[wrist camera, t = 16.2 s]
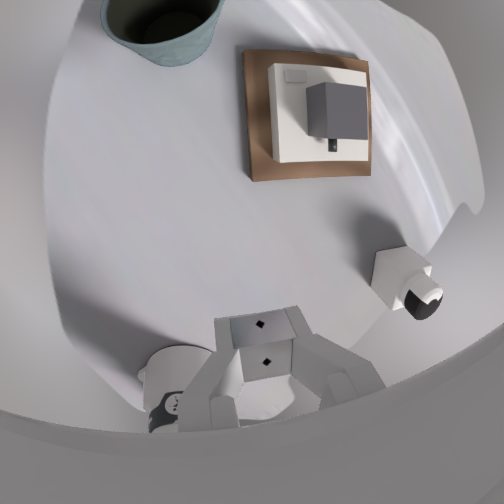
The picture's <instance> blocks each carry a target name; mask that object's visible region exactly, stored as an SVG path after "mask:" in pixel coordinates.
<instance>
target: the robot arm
mask: <svg viewBox="0 0 504 504" xmlns="http://www.w3.org/2000/svg"><path fill="white" fill-rule="evenodd" d="M229 321H230V322H229ZM214 327H215V337H216V348H217V351H216V352H210V351H208V350H205V349H202V348H199V347H194V346H172V347H167V348H164V349H162V350H159V351H158V352H156V353H155V354H153V355H152V356H151V358H150V359H149V361H148V363H147V365H146V366H145V367H144V368H142V369H141V370H140V371H139V372H138V379H139V380H140V381H141V382H142V383H143V408H144V409H145V410H146V411H147V412H148V413H149V414H150V415H149V422H148V428H149V433H132V432H114V431H103V430H93V429H85V428H78V427H71V426H65V425H59V424H54V423H49V422H45V421H40V420H36V419H32V418H27V417H24V416H20V415H17V414H13V413H9V412H6V411H4V410H1V409H0V504H504V323H503V324H501V325H500V326H498V327H497V328H496V329H494V330H493V331H491V332H490V333H488V334H487V335H486V336H484V337H482V338H481V339H479V340H478V341H476V342H475V343H473V344H471V345H470V346H468V347H467V348H465V349H463V350H462V351H460V352H458V353H457V354H455V355H453V356H451V357H450V358H448V359H446V360H444V361H442V362H440V363H438V364H437V365H434V366H433V367H431V368H429V369H427V370H425V371H422V372H421V373H419V374H416V375H414V376H412V377H410V378H408V379H406V380H403V381H401V382H399V383H396V384H394V385H391V386H389V387H386V386H385V384H384V382H383V381H382V379H381V378H380V376H379V374H378V373H377V371H376V369H375V368H374V366H373V365H372V363H371V362H370V361H368V360H366V359H364V358H362V357H360V356H358V355H356V354H355V353H353V352H351V351H349V350H347V349H345V348H343V347H341V346H339V345H337V344H335V343H333V342H331V341H330V340H328V339H326V338H324V337H322V336H320V335H318V334H314V335H313V334H312V332H311V330H310V328H309V326H308V324H307V322H306V320H305V318H304V316H303V314H302V312H301V310H300V308H299V307H298V306H297V305H296V306H292V307H287V308H283V309H278V310H272V311H266V312H260V313H253V314H245V315H238V316H229V317H223V318H214ZM288 374H291V375H292V376H293V377H294V378H295V379H297V380H298V381H299V382H300V383H302V384H303V385H304V386H305V387H307V388H308V389H309V390H311V391H312V392H313V393H314V394H316V395H317V396H318V397H320V398H321V403H320V407H319V410H318V411H315V412H312V413H308V414H304V415H300V416H296V417H291V418H287V419H282V420H277V421H273V422H267V423H262V424H256V425H250V426H243V427H240V424H239V420H238V415H237V411H236V407H235V402H236V400H237V398H238V396H239V394H240V392H241V390H242V387H243V385H244V382H250V381H255V380H260V379H265V378H271V377H277V376H282V375H288Z"/></svg>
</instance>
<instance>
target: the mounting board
mask: <svg viewBox="0 0 504 504" xmlns="http://www.w3.org/2000/svg"><path fill="white" fill-rule="evenodd" d="M242 56H243V70H244V84H245V99H246V113H247V128H248V143H249V158H250V173H251V180H252V181H253V182H258V181H269V180H282V179H297V178H314V177H337V176H371V145H372V126H371V95H370V79H369V67H368V61H364V60H359V59H354V58H348V57H342V56H336V55H329V54H321V53H311V52H300V51H285V50H244V51H243V53H242ZM274 63H282V64H302V65H314V66H324V67H333V68H340V69H347V70H354V71H360V72H365V73H366V81H367V98H368V161H306V162H285V163H279V162H277V161H275V160H273V148H272V129H271V112H270V96H269V81H268V68H269V67H270V66H271V65H273V64H274Z"/></svg>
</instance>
